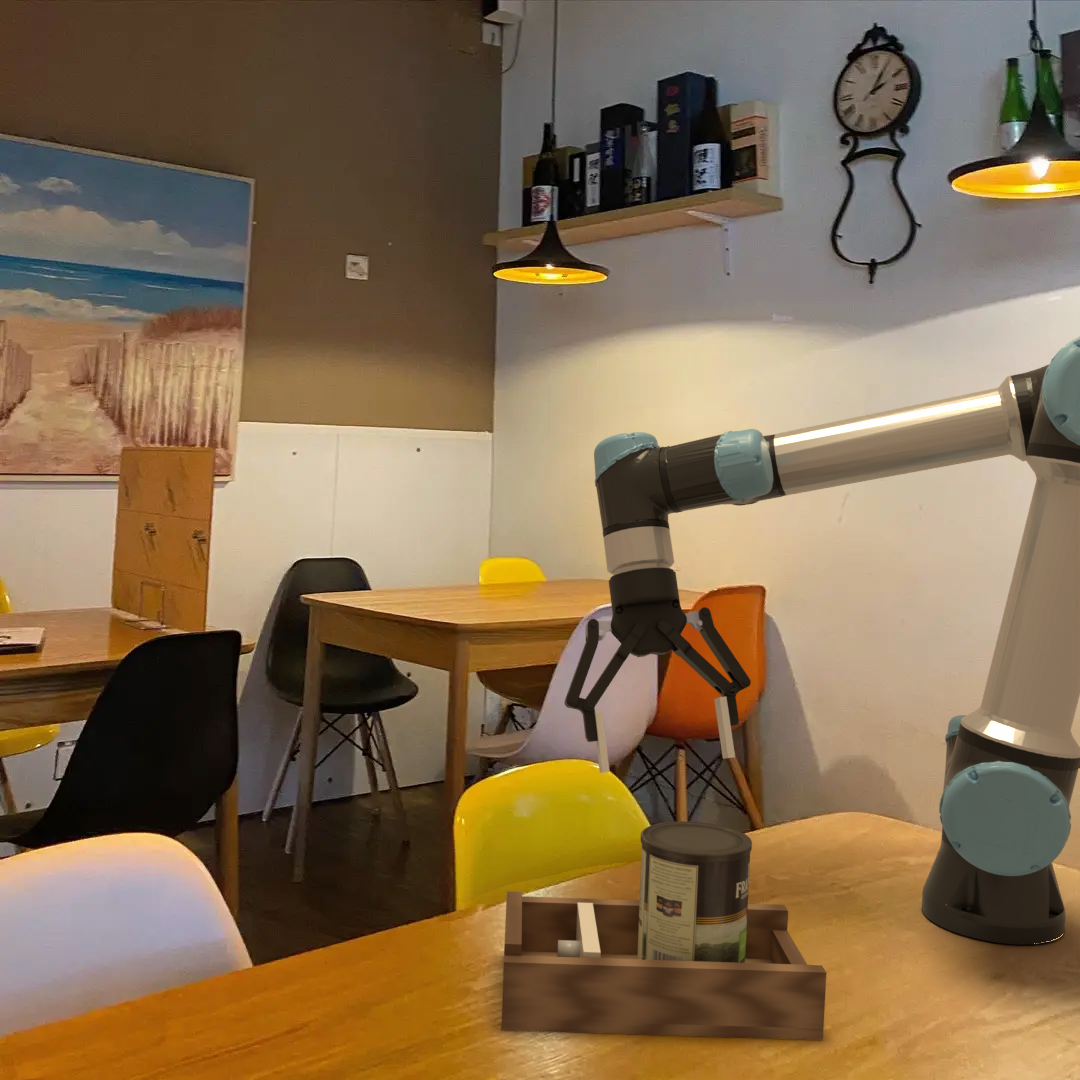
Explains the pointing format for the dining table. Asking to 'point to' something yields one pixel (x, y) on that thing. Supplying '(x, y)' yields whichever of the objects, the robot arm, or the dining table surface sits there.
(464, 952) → the dining table surface
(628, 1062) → the dining table surface
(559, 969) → the wooden tray
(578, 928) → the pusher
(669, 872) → the coffee can
